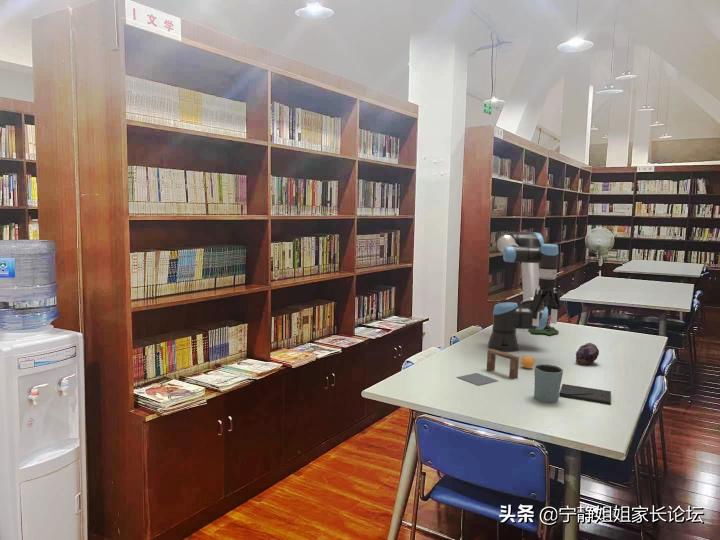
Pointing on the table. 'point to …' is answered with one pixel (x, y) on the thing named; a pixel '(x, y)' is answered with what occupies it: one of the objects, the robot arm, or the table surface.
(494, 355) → the bridge
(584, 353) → the rock
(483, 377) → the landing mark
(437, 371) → the table surface
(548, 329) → the bonsai tree
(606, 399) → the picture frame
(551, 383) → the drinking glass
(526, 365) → the ball
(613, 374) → the table surface
